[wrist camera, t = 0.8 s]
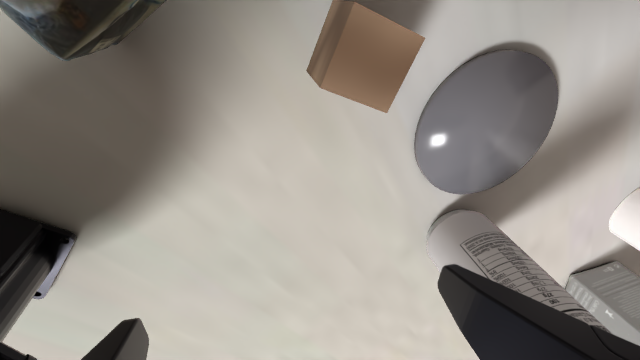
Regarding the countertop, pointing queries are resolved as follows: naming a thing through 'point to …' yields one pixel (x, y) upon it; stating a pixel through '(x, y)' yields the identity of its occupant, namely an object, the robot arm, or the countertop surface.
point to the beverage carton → (78, 22)
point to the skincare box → (610, 298)
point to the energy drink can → (497, 260)
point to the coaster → (486, 121)
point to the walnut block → (362, 55)
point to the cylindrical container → (627, 220)
